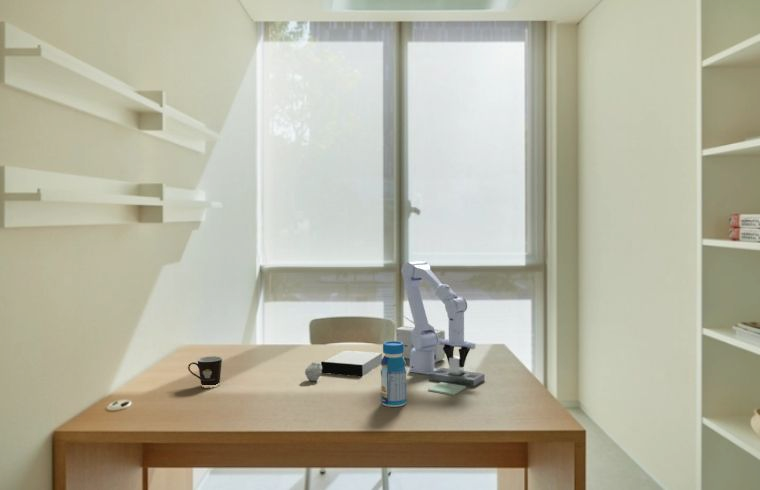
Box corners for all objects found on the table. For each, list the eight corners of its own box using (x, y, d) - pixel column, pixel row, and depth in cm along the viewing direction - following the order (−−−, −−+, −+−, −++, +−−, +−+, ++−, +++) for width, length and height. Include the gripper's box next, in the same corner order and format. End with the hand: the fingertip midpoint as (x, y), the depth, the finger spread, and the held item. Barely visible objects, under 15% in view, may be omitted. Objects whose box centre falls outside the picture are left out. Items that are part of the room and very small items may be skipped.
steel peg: (449, 376, 209) (449, 357, 208) (454, 373, 212) (453, 355, 212) (459, 378, 206) (459, 359, 206) (463, 375, 210) (463, 357, 209)
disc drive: (321, 374, 222) (320, 361, 222) (344, 360, 243) (344, 349, 243) (361, 378, 215) (361, 365, 215) (382, 364, 237) (382, 352, 236)
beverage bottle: (398, 409, 177) (397, 346, 177) (376, 405, 182) (375, 344, 181) (411, 402, 184) (410, 341, 184) (389, 398, 189) (388, 339, 188)
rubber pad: (428, 390, 197) (428, 389, 197) (441, 383, 205) (441, 382, 205) (453, 395, 191) (453, 393, 191) (466, 387, 199) (466, 386, 199)
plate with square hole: (429, 380, 210) (429, 373, 210) (441, 373, 218) (441, 367, 218) (473, 387, 200) (473, 380, 200) (484, 380, 208) (484, 373, 208)
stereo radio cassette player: (445, 360, 241) (445, 313, 240) (437, 364, 234) (436, 316, 233) (403, 354, 252) (403, 310, 251) (394, 358, 245) (393, 312, 244)
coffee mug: (227, 384, 208) (226, 357, 208) (211, 390, 200) (210, 362, 200) (203, 380, 213) (202, 354, 212) (186, 386, 205) (186, 359, 205)
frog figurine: (325, 380, 211) (325, 362, 211) (311, 384, 206) (311, 365, 206) (315, 377, 216) (315, 359, 215) (301, 381, 210) (300, 362, 210)
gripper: (434, 329, 209) (434, 365, 210) (469, 333, 201) (470, 371, 202) (442, 326, 215) (442, 361, 215) (477, 330, 207) (477, 366, 208)
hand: (456, 366), depth 209 cm, fingers closed on steel peg, 4 cm apart
